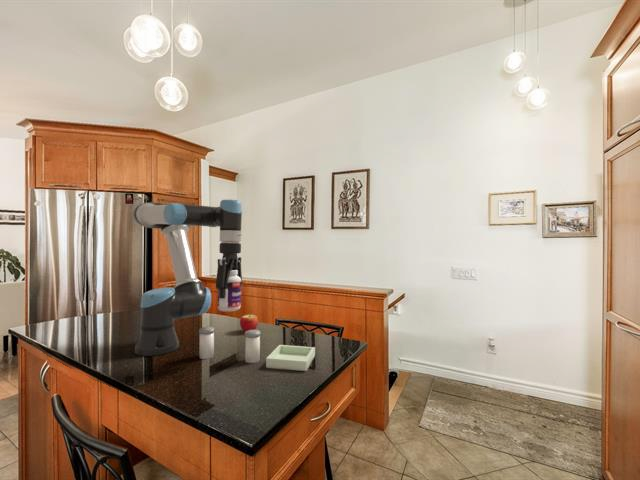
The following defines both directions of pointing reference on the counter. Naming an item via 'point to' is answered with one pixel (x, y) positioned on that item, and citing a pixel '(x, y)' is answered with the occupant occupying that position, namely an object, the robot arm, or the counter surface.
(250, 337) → the canister
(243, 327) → the apple
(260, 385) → the counter surface
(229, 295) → the pill bottle
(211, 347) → the canister
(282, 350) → the tray
